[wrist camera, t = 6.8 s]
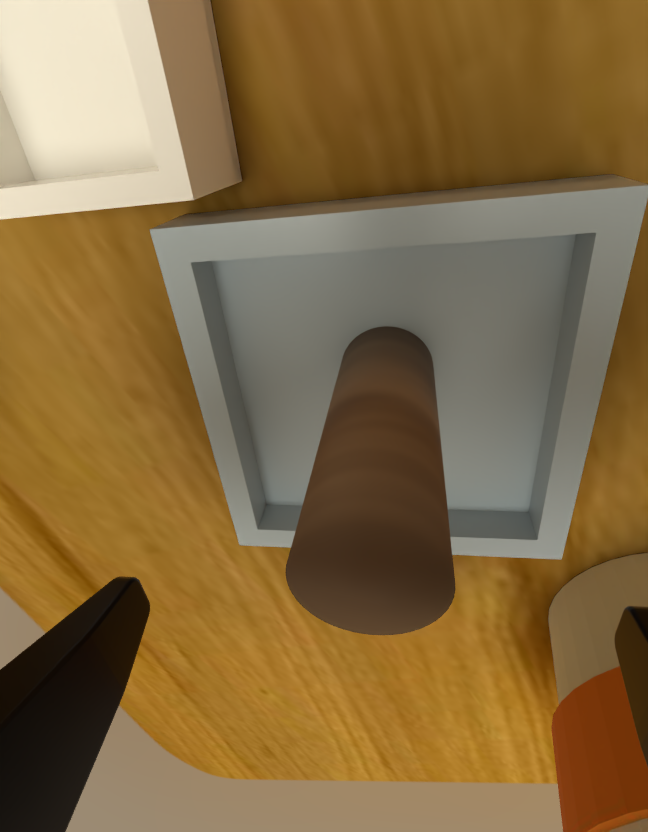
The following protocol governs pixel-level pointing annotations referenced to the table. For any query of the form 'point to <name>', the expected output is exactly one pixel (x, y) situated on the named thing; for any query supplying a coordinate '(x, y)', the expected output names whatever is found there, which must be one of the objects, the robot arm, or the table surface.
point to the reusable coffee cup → (597, 701)
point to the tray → (421, 315)
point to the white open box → (111, 105)
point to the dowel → (377, 496)
